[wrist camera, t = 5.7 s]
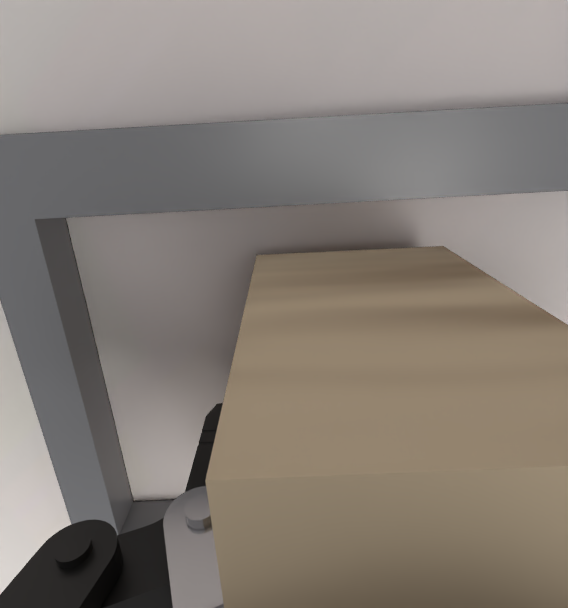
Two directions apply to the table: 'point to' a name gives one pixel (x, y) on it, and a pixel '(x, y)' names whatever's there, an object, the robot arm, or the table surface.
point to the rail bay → (211, 196)
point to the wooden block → (391, 438)
